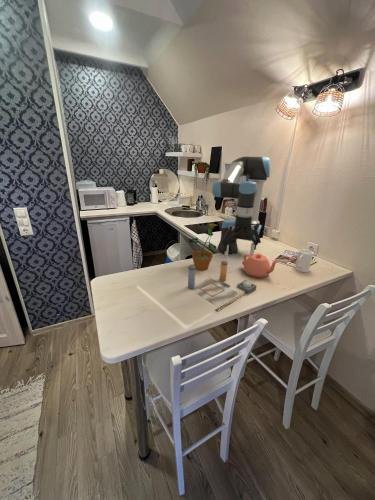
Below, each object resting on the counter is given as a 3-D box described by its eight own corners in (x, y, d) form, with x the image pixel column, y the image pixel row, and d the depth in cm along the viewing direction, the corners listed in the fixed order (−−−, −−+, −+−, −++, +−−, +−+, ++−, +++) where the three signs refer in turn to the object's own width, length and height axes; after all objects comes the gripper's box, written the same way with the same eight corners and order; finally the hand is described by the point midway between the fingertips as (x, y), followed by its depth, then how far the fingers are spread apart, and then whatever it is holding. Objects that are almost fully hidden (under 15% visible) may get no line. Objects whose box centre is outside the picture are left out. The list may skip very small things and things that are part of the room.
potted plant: (221, 268, 137) (226, 221, 125) (202, 279, 124) (206, 228, 112) (199, 260, 148) (202, 216, 136) (180, 269, 135) (181, 221, 123)
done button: (240, 287, 116) (241, 282, 115) (245, 285, 119) (246, 280, 118) (247, 291, 113) (248, 286, 112) (252, 288, 116) (253, 283, 115)
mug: (301, 274, 133) (306, 256, 128) (288, 269, 139) (292, 251, 134) (311, 270, 139) (316, 252, 134) (299, 264, 145) (303, 247, 141)
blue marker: (186, 287, 114) (187, 266, 110) (191, 284, 116) (192, 264, 112) (190, 290, 112) (191, 269, 107) (196, 287, 114) (196, 267, 109)
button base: (236, 288, 117) (237, 284, 116) (244, 284, 121) (245, 280, 120) (248, 294, 112) (248, 290, 111) (255, 289, 116) (256, 285, 115)
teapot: (281, 275, 131) (285, 256, 126) (268, 285, 120) (272, 264, 116) (248, 263, 145) (250, 246, 140) (234, 271, 135) (237, 252, 130)
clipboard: (183, 288, 115) (183, 286, 114) (209, 276, 127) (209, 274, 127) (217, 311, 98) (217, 309, 98) (244, 295, 111) (244, 293, 110)
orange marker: (218, 281, 123) (219, 261, 118) (222, 279, 125) (224, 260, 120) (222, 283, 121) (224, 264, 116) (227, 281, 123) (229, 262, 118)
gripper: (220, 217, 99) (217, 260, 108) (272, 217, 103) (265, 258, 111) (216, 213, 106) (213, 254, 114) (264, 213, 110) (258, 252, 118)
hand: (238, 256), depth 113 cm, fingers open, 13 cm apart
